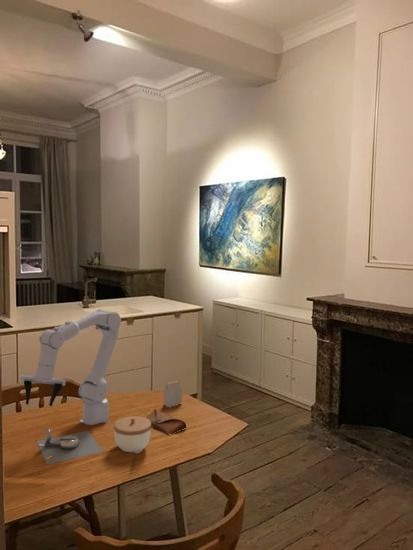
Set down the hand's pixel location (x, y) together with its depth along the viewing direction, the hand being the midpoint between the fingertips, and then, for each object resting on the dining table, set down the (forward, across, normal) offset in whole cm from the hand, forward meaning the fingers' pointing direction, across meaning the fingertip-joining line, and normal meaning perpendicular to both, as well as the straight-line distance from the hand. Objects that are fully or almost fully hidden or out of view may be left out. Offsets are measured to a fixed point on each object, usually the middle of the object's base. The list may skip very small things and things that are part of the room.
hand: (38, 404), depth 154 cm
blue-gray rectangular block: (+1, +57, +20) cm, 61 cm away
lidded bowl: (+10, +32, -12) cm, 36 cm away
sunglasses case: (+6, +47, +2) cm, 47 cm away
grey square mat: (+13, +12, -5) cm, 18 cm away
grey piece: (+12, +9, -4) cm, 16 cm away
